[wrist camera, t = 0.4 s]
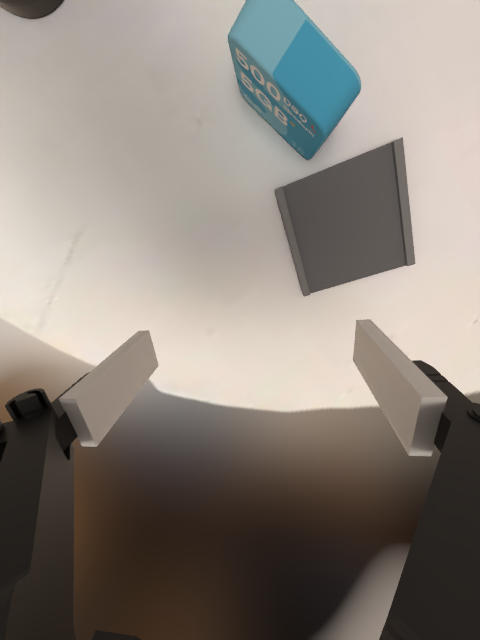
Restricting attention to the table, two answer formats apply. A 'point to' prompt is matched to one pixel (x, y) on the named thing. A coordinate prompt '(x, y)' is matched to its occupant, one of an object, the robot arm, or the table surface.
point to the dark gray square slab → (349, 219)
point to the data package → (291, 72)
